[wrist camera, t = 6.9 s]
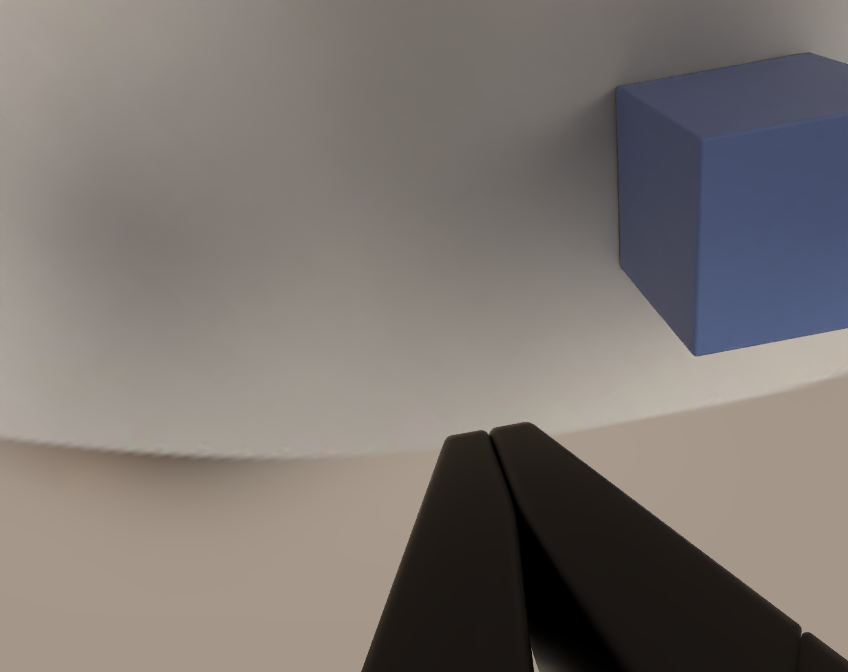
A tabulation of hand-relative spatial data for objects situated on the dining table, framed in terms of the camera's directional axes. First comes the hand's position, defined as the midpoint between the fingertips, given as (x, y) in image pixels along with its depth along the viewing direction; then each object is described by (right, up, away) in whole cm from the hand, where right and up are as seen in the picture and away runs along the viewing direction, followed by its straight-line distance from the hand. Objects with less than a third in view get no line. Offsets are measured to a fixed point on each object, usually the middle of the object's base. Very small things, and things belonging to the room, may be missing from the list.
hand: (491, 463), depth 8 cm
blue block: (+6, +5, +11) cm, 14 cm away
